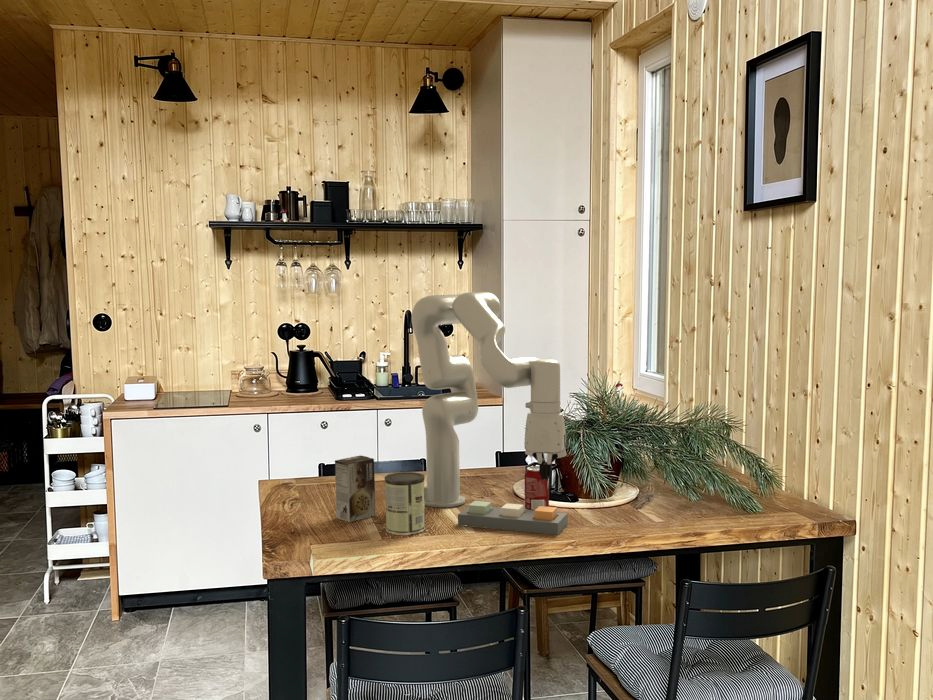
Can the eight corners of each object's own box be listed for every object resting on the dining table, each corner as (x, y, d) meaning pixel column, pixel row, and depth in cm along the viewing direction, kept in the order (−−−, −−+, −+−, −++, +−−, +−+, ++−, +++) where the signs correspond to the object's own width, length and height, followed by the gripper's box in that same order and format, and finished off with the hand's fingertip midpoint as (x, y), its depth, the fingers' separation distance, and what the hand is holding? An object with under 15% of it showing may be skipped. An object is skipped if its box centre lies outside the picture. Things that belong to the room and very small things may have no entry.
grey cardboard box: (361, 511, 247) (360, 454, 246) (376, 516, 242) (375, 458, 241) (335, 518, 241) (333, 459, 239) (349, 522, 236) (348, 463, 235)
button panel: (457, 525, 232) (457, 514, 232) (471, 515, 241) (470, 505, 241) (557, 534, 223) (557, 523, 222) (567, 524, 232) (567, 513, 232)
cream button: (501, 517, 230) (501, 507, 230) (506, 512, 235) (506, 503, 235) (518, 518, 229) (518, 509, 229) (524, 514, 233) (524, 504, 233)
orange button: (534, 520, 227) (534, 510, 227) (539, 515, 232) (539, 506, 232) (552, 521, 226) (552, 512, 225) (557, 517, 230) (557, 507, 230)
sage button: (468, 514, 234) (468, 505, 233) (474, 509, 238) (474, 500, 238) (485, 515, 232) (485, 506, 232) (491, 511, 236) (491, 502, 236)
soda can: (547, 514, 242) (547, 471, 241) (523, 513, 244) (522, 470, 243) (550, 508, 249) (550, 466, 248) (526, 507, 250) (526, 465, 249)
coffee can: (392, 523, 235) (391, 471, 234) (429, 525, 232) (429, 472, 231) (380, 534, 225) (379, 479, 224) (419, 536, 222) (418, 481, 221)
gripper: (513, 408, 226) (513, 479, 227) (570, 411, 220) (570, 483, 222) (521, 404, 233) (522, 473, 234) (577, 407, 227) (577, 477, 229)
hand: (545, 478), depth 228 cm, fingers closed
